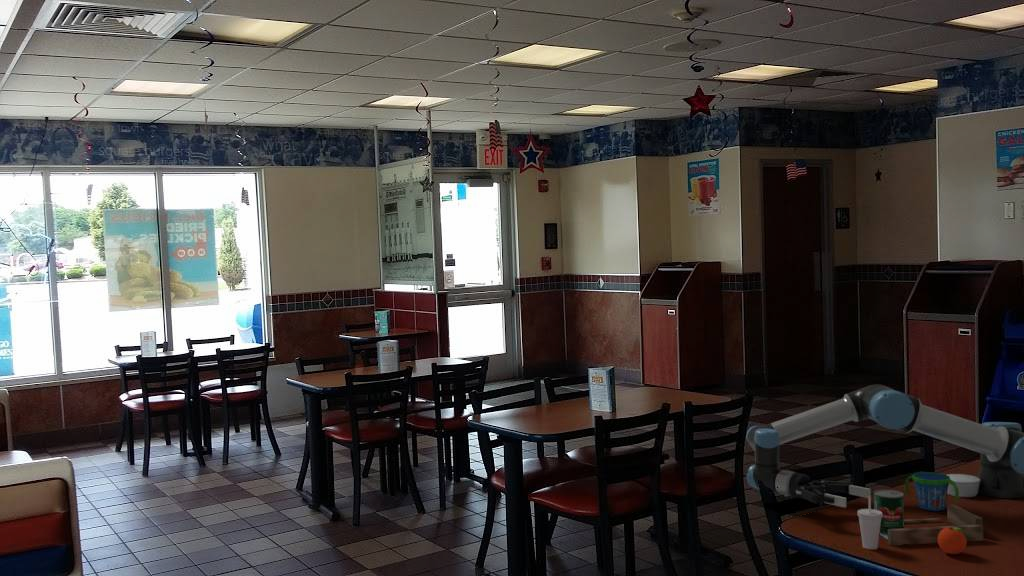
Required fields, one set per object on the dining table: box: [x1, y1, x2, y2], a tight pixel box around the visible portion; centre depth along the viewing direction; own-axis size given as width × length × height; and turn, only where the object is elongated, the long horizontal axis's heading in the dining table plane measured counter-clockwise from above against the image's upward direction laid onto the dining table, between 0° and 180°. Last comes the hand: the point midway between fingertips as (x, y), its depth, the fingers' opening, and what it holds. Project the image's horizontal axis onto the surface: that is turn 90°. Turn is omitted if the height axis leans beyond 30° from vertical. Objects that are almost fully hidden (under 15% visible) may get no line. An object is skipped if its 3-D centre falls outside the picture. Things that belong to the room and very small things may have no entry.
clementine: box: [937, 527, 968, 555], centre depth 236 cm, size 8×7×7 cm
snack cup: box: [903, 471, 960, 512], centre depth 277 cm, size 16×10×10 cm
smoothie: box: [857, 496, 883, 550], centre depth 243 cm, size 6×6×14 cm
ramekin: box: [946, 473, 980, 498], centre depth 292 cm, size 11×11×5 cm
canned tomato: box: [873, 489, 905, 535], centre depth 255 cm, size 8×8×11 cm
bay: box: [858, 503, 984, 546], centre depth 254 cm, size 28×18×5 cm, turn 95°
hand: (858, 498), depth 262 cm, fingers open, 13 cm apart
